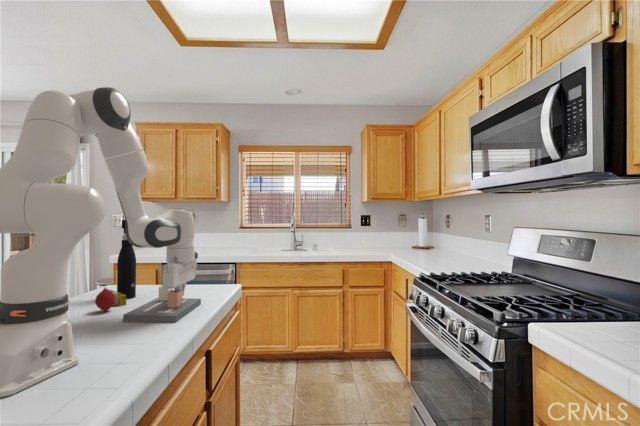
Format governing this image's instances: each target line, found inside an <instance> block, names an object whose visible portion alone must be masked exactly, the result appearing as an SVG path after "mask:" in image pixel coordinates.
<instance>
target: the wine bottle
mask: <svg viewBox="0 0 640 426" xmlns="http://www.w3.org/2000/svg"><path fill="white" fill-rule="evenodd" d="M121 229H123V235H122V240H121V246H120V247H121V248H120V250H119V253H118V256H117V263H116V264H117V265H116V266H117V267H116V268H117V269H116V270H117V274H116V275H117V277H116V278H117V279H116V292H119V293H122V294H125V295H126V300H129V299H130V300H131V299H134V298H136V295H137V294H136V293H137V292H136V289H137V288H136V286H137V283H136V282H137V257H136V256H137V255H136V253H135V250H134V249H135V248H134V246H133V245H132V244H130V243H129V241H128V240H127V238H126V234H125V229H126V221H125V219H122V220H121Z"/></svg>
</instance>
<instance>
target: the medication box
mask: <svg viewBox="0 0 640 426" xmlns="http://www.w3.org/2000/svg"><path fill="white" fill-rule="evenodd" d="M109 290H110V291H112V293H113V294H114V295H115V297H116V301H115V304H114V305H113V306H117V307H123V306H127V299H126V295H125V294H122V293H119V292H117V290H112V289H109Z"/></svg>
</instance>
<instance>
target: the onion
mask: <svg viewBox="0 0 640 426" xmlns="http://www.w3.org/2000/svg"><path fill="white" fill-rule="evenodd" d="M110 290H111V289H109V288H107V287H106V286H104V288H103V289H102V290H101V291H100V292H99V293H98V294H97V295H96V296H95V300H94V301H95V302H94V303H95V305H96V307H97V308H98V309H99V310H101V311H103V312H107V311H108V310H110V309H112V307H114V306H115V305H114V304H115V301H116V297H115V295H114V294H113V293H112V291H110Z"/></svg>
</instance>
